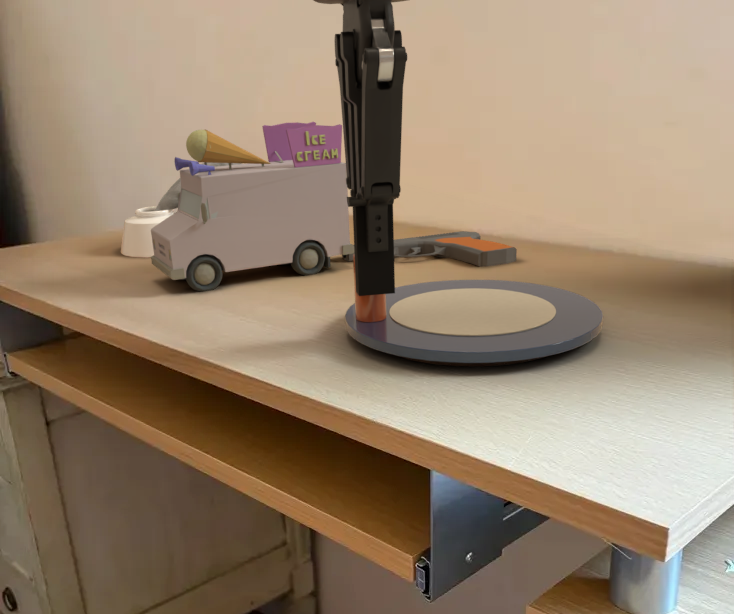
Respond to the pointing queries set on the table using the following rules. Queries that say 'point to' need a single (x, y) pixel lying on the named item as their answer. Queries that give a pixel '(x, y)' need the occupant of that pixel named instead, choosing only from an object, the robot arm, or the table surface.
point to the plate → (473, 321)
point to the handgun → (454, 248)
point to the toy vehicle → (257, 206)
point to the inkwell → (151, 221)
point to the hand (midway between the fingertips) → (375, 292)
